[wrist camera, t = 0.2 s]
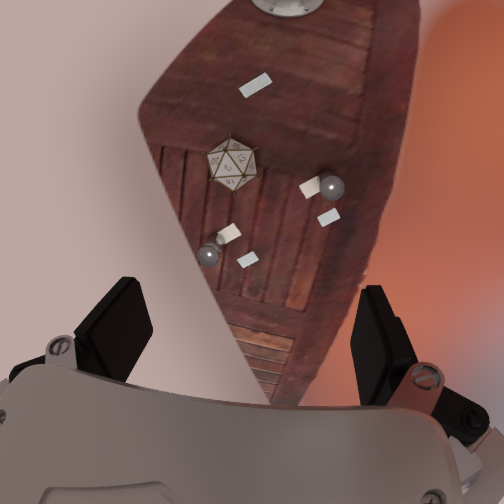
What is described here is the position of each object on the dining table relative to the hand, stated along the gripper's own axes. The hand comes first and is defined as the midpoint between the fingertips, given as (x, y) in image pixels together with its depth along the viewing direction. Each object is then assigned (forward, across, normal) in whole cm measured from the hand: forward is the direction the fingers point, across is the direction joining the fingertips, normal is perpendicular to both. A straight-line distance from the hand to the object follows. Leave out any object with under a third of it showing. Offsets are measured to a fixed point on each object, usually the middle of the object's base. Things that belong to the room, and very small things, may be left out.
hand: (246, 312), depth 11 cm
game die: (+37, +7, -1) cm, 37 cm away
